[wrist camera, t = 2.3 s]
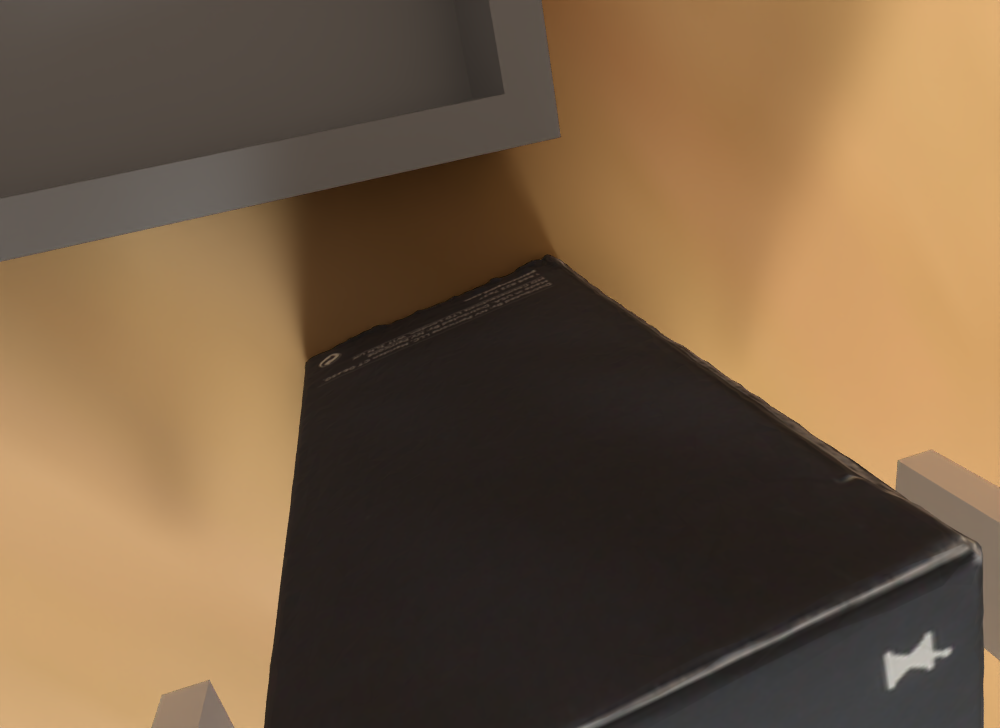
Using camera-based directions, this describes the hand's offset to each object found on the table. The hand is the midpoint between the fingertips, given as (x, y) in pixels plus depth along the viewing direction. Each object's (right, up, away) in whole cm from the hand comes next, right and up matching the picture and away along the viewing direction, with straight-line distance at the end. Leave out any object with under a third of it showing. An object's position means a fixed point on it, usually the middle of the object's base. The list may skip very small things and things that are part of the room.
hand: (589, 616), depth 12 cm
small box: (-2, +2, +4) cm, 5 cm away
